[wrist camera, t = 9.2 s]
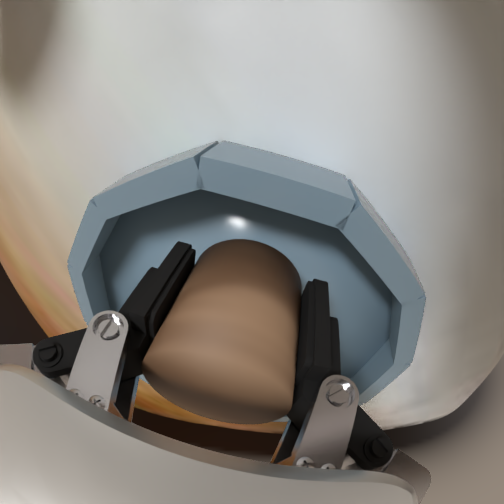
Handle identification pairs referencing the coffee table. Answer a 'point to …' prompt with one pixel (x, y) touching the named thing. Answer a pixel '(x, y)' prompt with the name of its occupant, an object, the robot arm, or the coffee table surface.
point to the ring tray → (265, 231)
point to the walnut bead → (231, 336)
